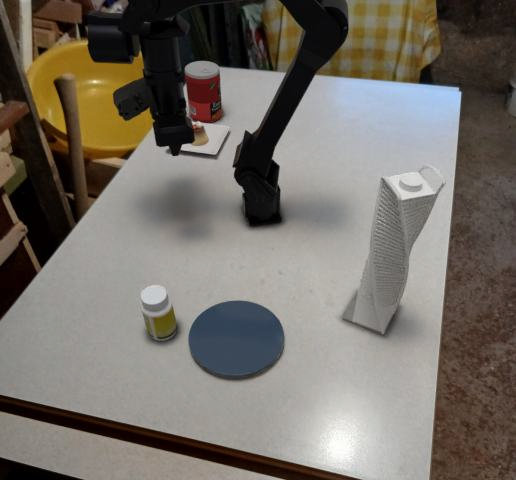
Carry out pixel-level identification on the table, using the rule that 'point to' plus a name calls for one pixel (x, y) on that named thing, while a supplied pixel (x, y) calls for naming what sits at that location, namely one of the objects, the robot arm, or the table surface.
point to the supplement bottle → (158, 313)
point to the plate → (236, 339)
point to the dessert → (206, 138)
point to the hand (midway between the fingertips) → (175, 155)
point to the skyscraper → (392, 247)
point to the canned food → (203, 91)
